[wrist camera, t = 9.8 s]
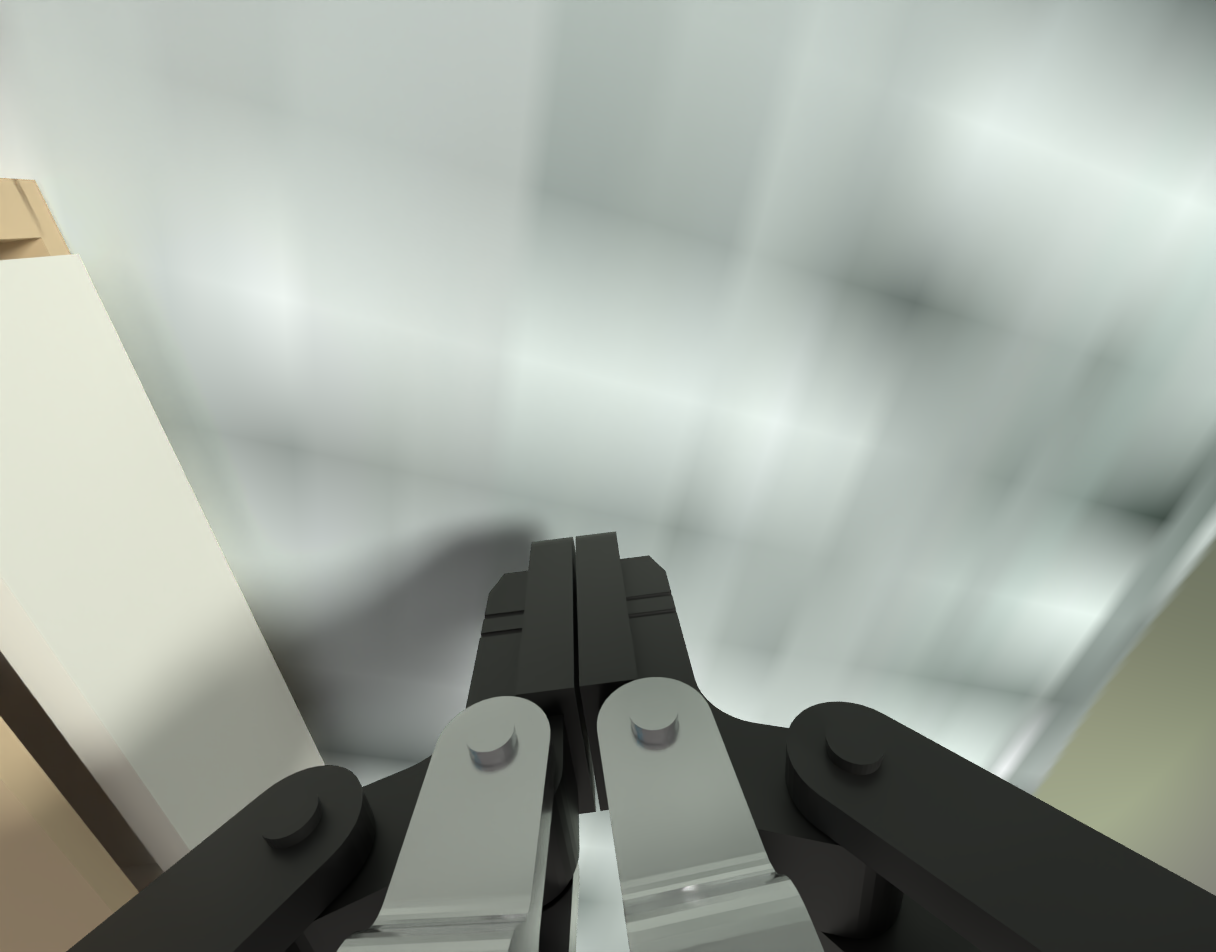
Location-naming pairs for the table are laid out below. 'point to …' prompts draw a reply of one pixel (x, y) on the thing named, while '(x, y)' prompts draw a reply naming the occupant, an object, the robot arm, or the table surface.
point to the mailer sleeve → (7, 773)
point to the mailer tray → (120, 594)
